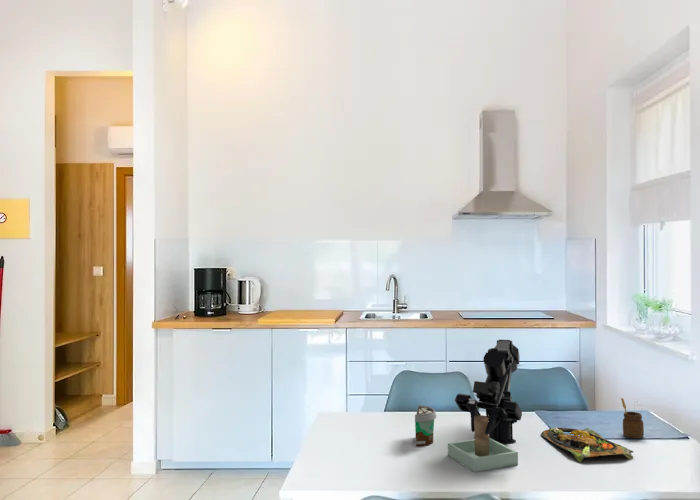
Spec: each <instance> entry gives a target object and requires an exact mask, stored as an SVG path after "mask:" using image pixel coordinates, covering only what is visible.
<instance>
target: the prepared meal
mask: <svg viewBox="0 0 700 500" xmlns="http://www.w3.org/2000/svg"><path fill="white" fill-rule="evenodd" d="M563 432H571V433H569V434H565V433H563ZM571 434H574V435H571ZM578 435H580V436H578ZM582 436H583V437H582ZM540 437H543V438H545V439H546V440H548V441H550V442H551V443H552V444H553V445H555V446H557V447H559V448H561V449H563V450H565V451H569V452H570V453H571V454H572V455H573V456H574V458H575V459H576V460H577V462H578V463H579V464H581V463H582V461H583V459H584V458H593V457H600V456H602V457H603V456H615V455H623V456H624V457H626V458H627V459H628V460H632V459H634V456H633V455H632V453H634V450H631V449H629V448H627V447H625V446H624V445H621V444H617V443H615V442H613V441H610V440H608V439H606V438H604V436H601V435H600V434H599V433H597V431H595V430H594V429H591V428H588V427H587V428H584V429H577V428H566V427H553V428H549V429H546V430H543V431H541V433H540Z"/></svg>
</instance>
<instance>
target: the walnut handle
mask: <svg viewBox="0 0 700 500" xmlns="http://www.w3.org/2000/svg"><path fill="white" fill-rule="evenodd" d="M488 422H489V421H488V417H487V416H486V415H478V416H474V432H473V434H474V439H475V455H476V456H479V457H482V456H489V434H488V435H486V433H485V432H486V428H487V425H488Z"/></svg>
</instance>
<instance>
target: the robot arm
mask: <svg viewBox="0 0 700 500" xmlns="http://www.w3.org/2000/svg"><path fill="white" fill-rule="evenodd" d="M482 360H483V364H484V368H485V373H486V374H487V375H486V379H485V381H479V380H478V381H477V380H474V382H473V387H472V393H475V394H476V395H475V397H476V399H475V398H472V396H471V394H466V393H457V394H456V395H455V398H454V402H455V404H456V405H457V407H458V408H459V410H460V411H462V412H466V413H469V414H470V428H471V429H470V430H471V432H473V433H474V416H478V415H481V413H480V409H483V410H485V416H487V417H488V425H487V428H486V432H485V433H486V435H488V434H489V438H491V439H493V440H495V441H497V442H499V443H501V444H503V445H505V444H511V443H517V440H516V439H514V438H513V437H514V434H513V424H516V423H518V421H521V420H522V416H523V412H522V410H521V408H520V405H519V404H518V402H517V401H513V397H512V393H511V391H510V390H511V381H512V373H514V372H516V371H518V365H520V361H521V360H520V352H519V348H518V347H517V346H515V345H514V344H513V341H512V340H510V339H498V340H496V345H495V346H494V347H491V348H489V349H488V350H487V352H485V354H484V355H483V359H482ZM477 399H478V400H477Z"/></svg>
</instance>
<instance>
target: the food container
mask: <svg viewBox="0 0 700 500" xmlns="http://www.w3.org/2000/svg"><path fill="white" fill-rule="evenodd" d="M436 418H437V413H436V410H435V409H434V407H432V406H429V405H421V404H418V405H417V411H416V414H414V423H415V425H414V427H415V428H414V429H415V447H418V448H419V447H427V446H428V447H429V446H431V445H433V444H434V431H435V419H436Z"/></svg>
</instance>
